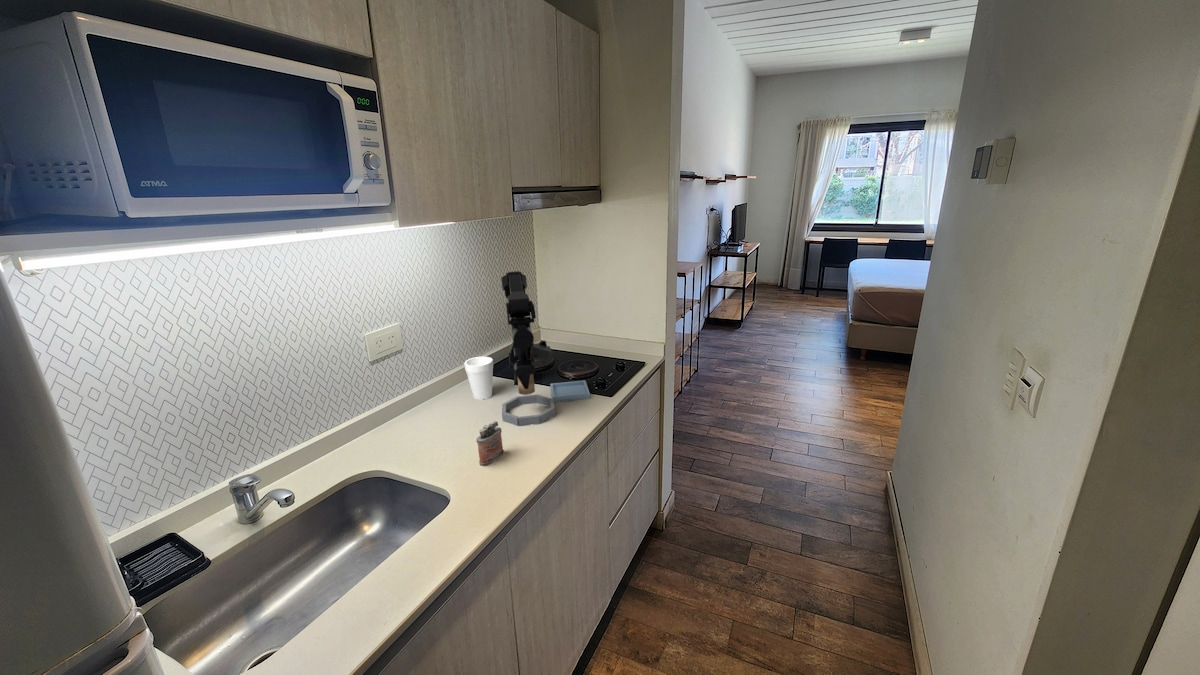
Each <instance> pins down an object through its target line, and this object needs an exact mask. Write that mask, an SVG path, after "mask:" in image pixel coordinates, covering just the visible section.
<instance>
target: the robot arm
mask: <svg viewBox="0 0 1200 675" xmlns="http://www.w3.org/2000/svg"><path fill="white" fill-rule="evenodd" d="M527 282H528V281H527V275H526V274H523V273H522V271H519V270H518V271H508V272H506V273H505V275H502V276H501V287H502V288H501V290H502V291H504V296H505V298H506V299H507V302H505V307H506V316H507V325H508V326H509V325H510V326H511V336H512V343H511V345H510V346H509V350H510V352H508V360H509V369H510V370H511V369H513V375H514V376H513V385H514V386H516V385H517V386H518V378H519V380H520V382H521V383H522V385H523V387H524V388H525V389H528V387H529V380H530V375H531V374H533V375H534V374H536V363H535V358H537V359H541V360H544V361H547V362H548V361H549V360H550V357H551V354H552V348H551V347H550V345H547V341H546V340H540V341H539V342H536V343H534V341H535V338H534V333H533V331H532V328H531V324H533V323H535V319H536V317H537V316H536V315H537V314H536V310H535V303H533V300H530V298H529V294H528V293H526V290H527V289H528V283H527ZM517 377H518V378H517Z"/></svg>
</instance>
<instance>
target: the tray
mask: <svg viewBox="0 0 1200 675" xmlns="http://www.w3.org/2000/svg"><path fill="white" fill-rule="evenodd" d="M549 385H550V392H551V398H552V399H553V401H554V403H558V402H568V401H575V400H577V401H578V400H586V399H587V398H588V399H590V398H591V393H590V391H589V387H588V384H587V381H586V380H576V381H565V382H555V383H553V382H552V383H550V384H549Z"/></svg>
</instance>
